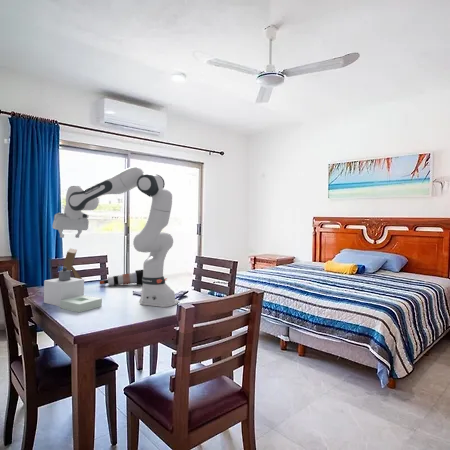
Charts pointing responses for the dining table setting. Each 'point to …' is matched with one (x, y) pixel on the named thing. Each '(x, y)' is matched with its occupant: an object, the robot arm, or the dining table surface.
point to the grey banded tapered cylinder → (125, 279)
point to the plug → (64, 274)
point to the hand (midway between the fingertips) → (69, 237)
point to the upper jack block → (62, 290)
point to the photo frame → (71, 262)
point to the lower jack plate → (80, 303)
